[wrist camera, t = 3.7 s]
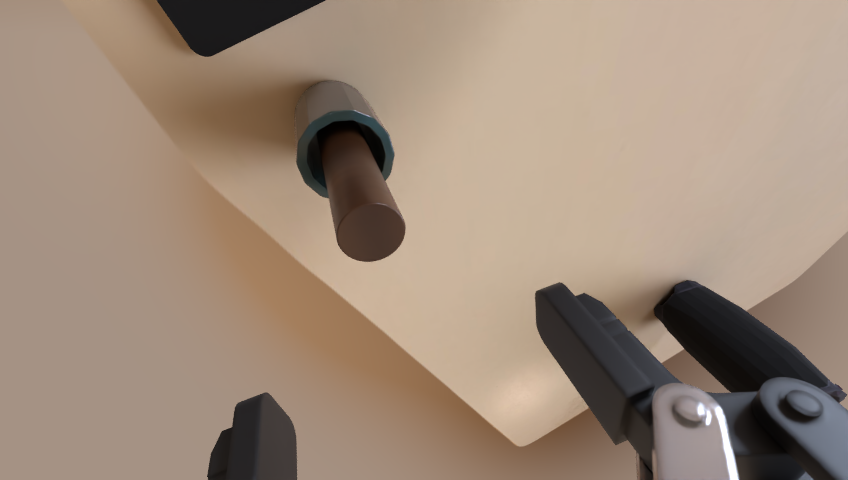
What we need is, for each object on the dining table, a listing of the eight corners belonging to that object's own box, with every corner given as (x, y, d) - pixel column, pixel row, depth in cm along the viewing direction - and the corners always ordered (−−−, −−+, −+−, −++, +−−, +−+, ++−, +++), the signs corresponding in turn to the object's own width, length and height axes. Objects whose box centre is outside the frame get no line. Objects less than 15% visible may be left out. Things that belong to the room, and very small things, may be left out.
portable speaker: (707, 268, 56) (866, 377, 41) (691, 310, 62) (827, 420, 47) (657, 287, 55) (801, 407, 40) (646, 328, 61) (769, 447, 45)
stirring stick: (322, 146, 30) (349, 271, 17) (308, 109, 28) (326, 217, 15) (359, 135, 30) (412, 249, 17) (347, 97, 28) (396, 193, 16)
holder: (312, 165, 31) (318, 214, 25) (281, 92, 27) (279, 126, 21) (380, 144, 32) (403, 185, 25) (358, 69, 28) (379, 96, 22)
